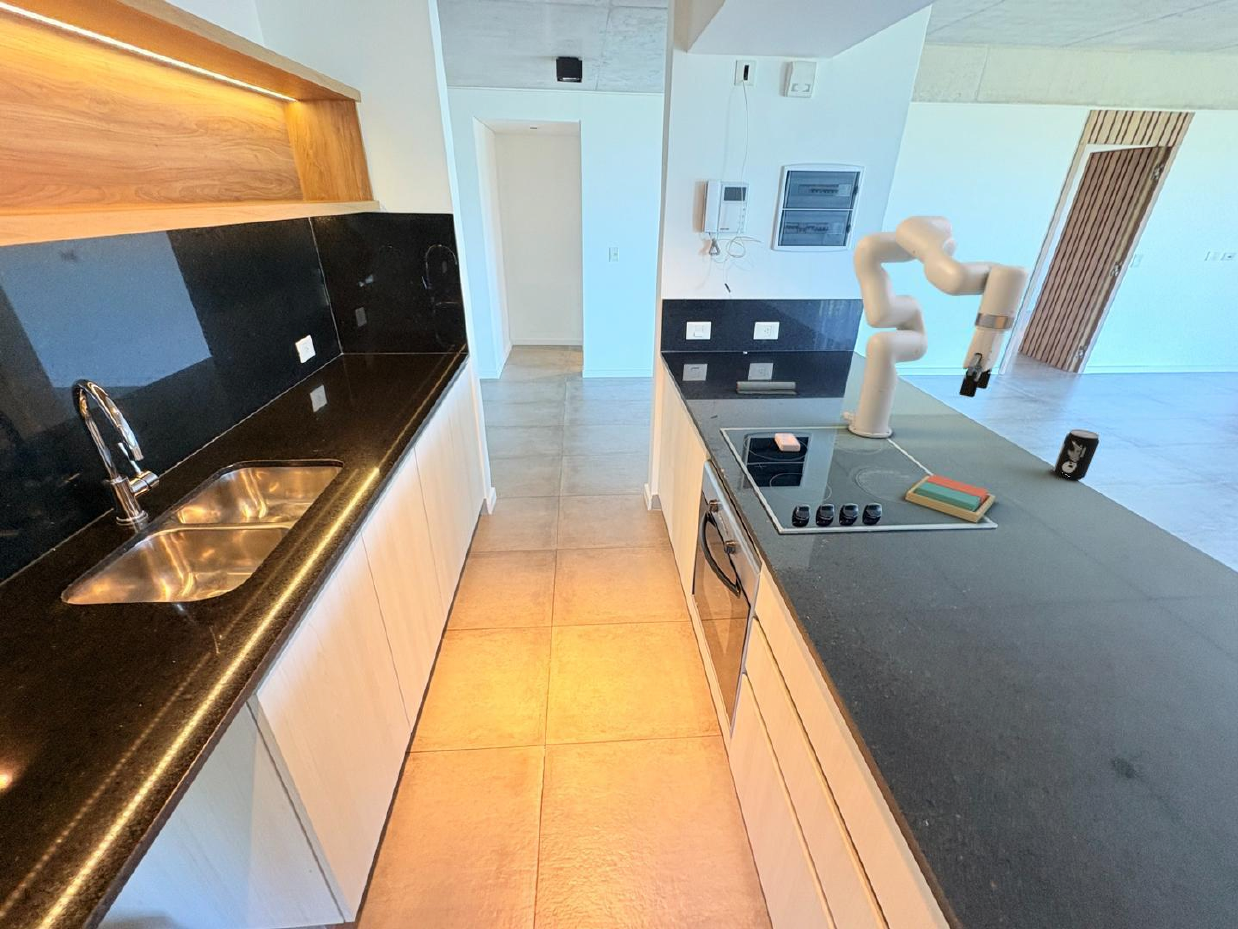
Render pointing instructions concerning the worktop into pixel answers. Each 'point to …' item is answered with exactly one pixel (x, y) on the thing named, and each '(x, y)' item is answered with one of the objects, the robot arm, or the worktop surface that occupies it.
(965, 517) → the tray
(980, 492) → the red rectangular block
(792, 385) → the aluminum foil
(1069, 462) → the beverage can
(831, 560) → the worktop surface
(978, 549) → the worktop surface
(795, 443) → the soap bar
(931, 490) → the pad
